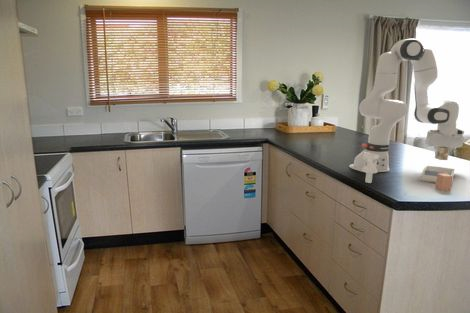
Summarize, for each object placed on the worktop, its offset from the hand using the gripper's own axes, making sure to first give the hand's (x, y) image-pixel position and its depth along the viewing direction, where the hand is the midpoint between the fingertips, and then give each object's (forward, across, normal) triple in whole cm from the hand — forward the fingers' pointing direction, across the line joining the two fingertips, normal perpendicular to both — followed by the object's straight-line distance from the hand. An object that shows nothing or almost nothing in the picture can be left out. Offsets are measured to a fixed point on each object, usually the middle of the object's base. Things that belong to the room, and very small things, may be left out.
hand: (441, 154), depth 201 cm
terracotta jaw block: (+10, -20, -34) cm, 41 cm away
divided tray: (+10, -11, -16) cm, 21 cm away
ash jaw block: (+3, 0, 0) cm, 3 cm away
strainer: (+11, -52, -24) cm, 58 cm away
